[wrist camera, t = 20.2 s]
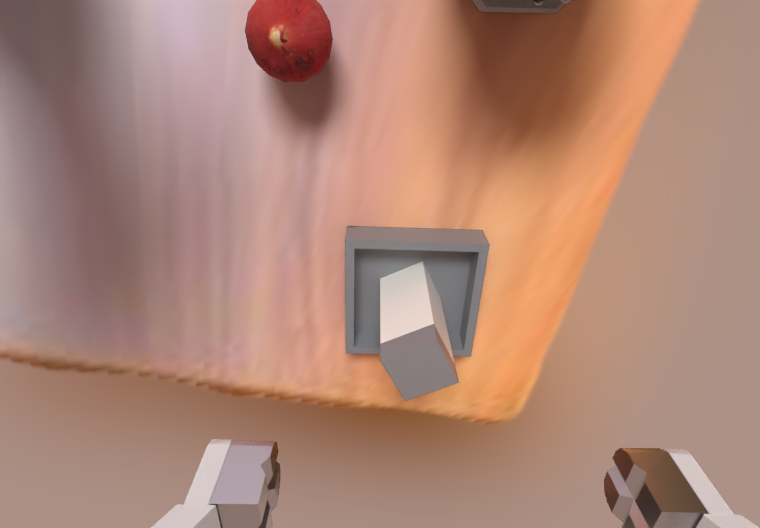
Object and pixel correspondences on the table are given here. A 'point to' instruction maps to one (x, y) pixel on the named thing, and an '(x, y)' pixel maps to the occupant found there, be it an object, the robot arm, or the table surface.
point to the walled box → (399, 251)
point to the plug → (414, 333)
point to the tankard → (520, 5)
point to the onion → (289, 38)
